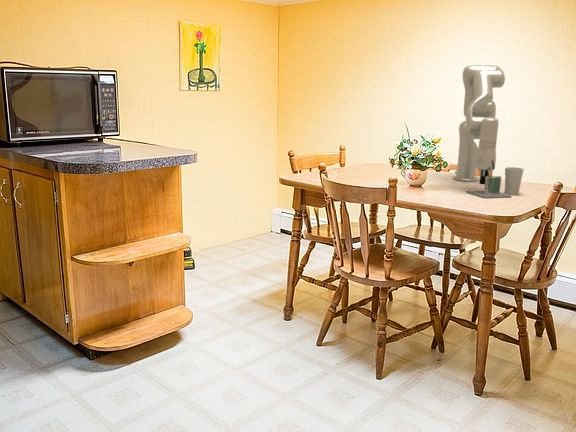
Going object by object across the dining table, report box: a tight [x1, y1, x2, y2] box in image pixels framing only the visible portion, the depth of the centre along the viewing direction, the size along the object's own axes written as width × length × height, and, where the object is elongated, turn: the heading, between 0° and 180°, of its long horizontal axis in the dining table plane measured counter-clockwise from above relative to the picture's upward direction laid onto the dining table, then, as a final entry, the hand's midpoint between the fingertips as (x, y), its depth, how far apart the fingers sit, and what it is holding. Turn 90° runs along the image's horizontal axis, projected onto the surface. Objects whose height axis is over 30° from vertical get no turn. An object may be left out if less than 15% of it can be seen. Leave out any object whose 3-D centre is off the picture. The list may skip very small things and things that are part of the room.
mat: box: [465, 189, 512, 199], centre depth 248 cm, size 15×14×1 cm
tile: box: [483, 175, 502, 194], centre depth 247 cm, size 2×8×7 cm
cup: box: [503, 166, 525, 196], centre depth 250 cm, size 8×8×12 cm
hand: (483, 184), depth 251 cm, fingers closed
